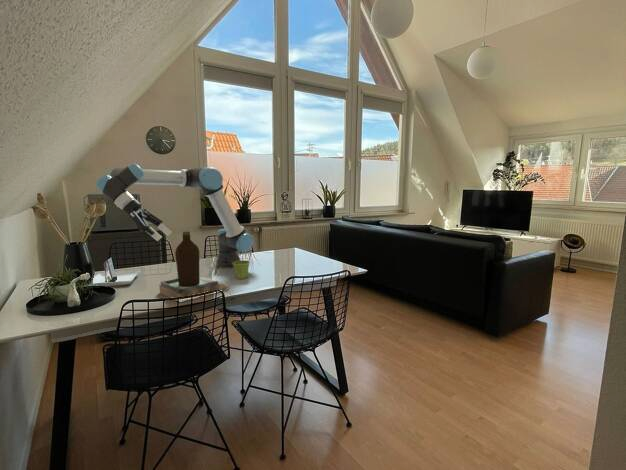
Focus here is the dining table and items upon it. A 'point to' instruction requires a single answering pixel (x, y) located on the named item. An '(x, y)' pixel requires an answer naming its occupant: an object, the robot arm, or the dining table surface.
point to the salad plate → (122, 278)
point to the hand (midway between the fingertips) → (165, 236)
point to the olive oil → (187, 262)
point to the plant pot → (241, 268)
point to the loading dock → (174, 290)
